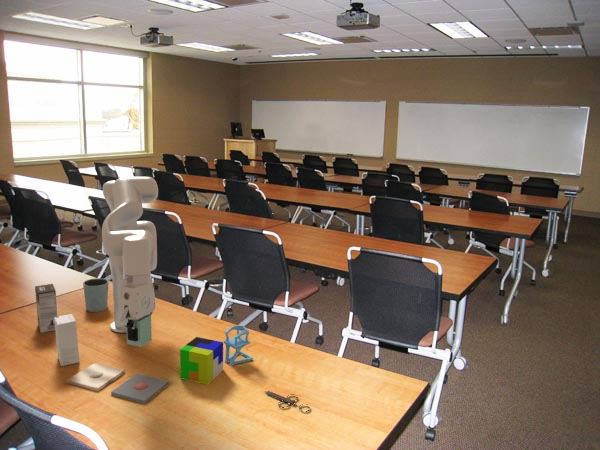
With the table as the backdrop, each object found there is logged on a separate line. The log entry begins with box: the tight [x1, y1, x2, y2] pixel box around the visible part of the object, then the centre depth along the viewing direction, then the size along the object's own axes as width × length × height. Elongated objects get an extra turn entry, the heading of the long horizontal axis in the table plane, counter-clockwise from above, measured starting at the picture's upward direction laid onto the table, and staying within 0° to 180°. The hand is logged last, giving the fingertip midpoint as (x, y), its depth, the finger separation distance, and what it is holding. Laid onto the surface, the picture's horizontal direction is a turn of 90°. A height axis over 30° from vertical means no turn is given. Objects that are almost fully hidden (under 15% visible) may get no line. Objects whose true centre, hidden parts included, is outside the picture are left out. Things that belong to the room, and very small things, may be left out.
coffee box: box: [34, 283, 58, 334], centre depth 187 cm, size 9×6×16 cm
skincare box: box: [54, 313, 81, 367], centre depth 162 cm, size 8×6×15 cm
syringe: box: [263, 390, 308, 410], centre depth 144 cm, size 8×18×2 cm, turn 56°
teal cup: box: [82, 277, 110, 313], centre depth 207 cm, size 10×10×12 cm
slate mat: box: [110, 372, 170, 405], centre depth 148 cm, size 12×12×1 cm
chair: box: [223, 325, 254, 366], centre depth 167 cm, size 8×8×12 cm
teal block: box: [126, 315, 153, 348], centre depth 144 cm, size 5×5×8 cm
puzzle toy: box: [179, 336, 224, 385], centre depth 157 cm, size 10×10×10 cm
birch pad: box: [66, 362, 126, 392], centre depth 153 cm, size 12×12×1 cm
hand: (139, 335), depth 144 cm, fingers closed on teal block, 5 cm apart
